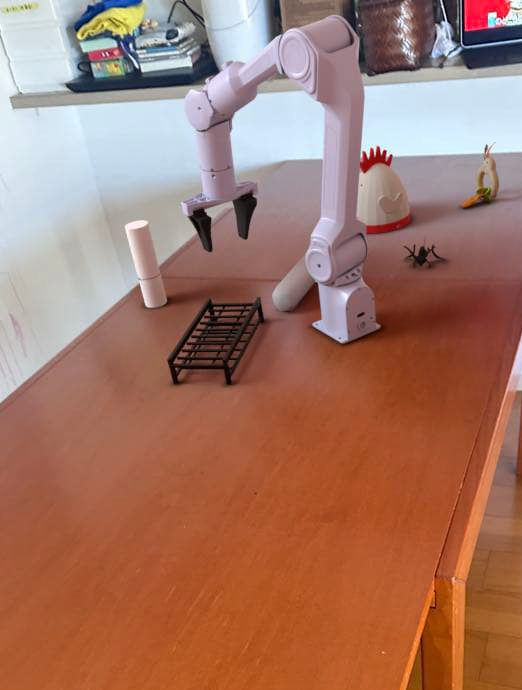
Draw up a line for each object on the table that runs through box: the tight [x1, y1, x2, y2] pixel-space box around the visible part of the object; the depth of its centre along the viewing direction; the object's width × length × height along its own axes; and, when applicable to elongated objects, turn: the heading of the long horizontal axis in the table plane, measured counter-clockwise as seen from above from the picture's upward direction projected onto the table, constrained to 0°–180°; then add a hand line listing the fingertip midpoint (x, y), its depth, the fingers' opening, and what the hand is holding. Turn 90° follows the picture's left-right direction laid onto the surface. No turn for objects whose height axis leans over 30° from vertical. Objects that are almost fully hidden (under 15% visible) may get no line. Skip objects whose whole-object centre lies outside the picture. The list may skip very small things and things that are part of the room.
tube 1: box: [124, 219, 168, 309], centre depth 143 cm, size 4×4×15 cm
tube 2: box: [271, 251, 316, 312], centre depth 144 cm, size 5×5×25 cm
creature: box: [403, 235, 446, 268], centre depth 145 cm, size 8×5×8 cm
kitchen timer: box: [356, 145, 411, 234], centre depth 161 cm, size 14×14×15 cm
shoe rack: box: [166, 296, 265, 386], centre depth 128 cm, size 10×22×4 cm, turn 167°
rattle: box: [461, 143, 500, 209], centre depth 163 cm, size 8×8×12 cm
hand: (225, 244), depth 139 cm, fingers open, 7 cm apart
